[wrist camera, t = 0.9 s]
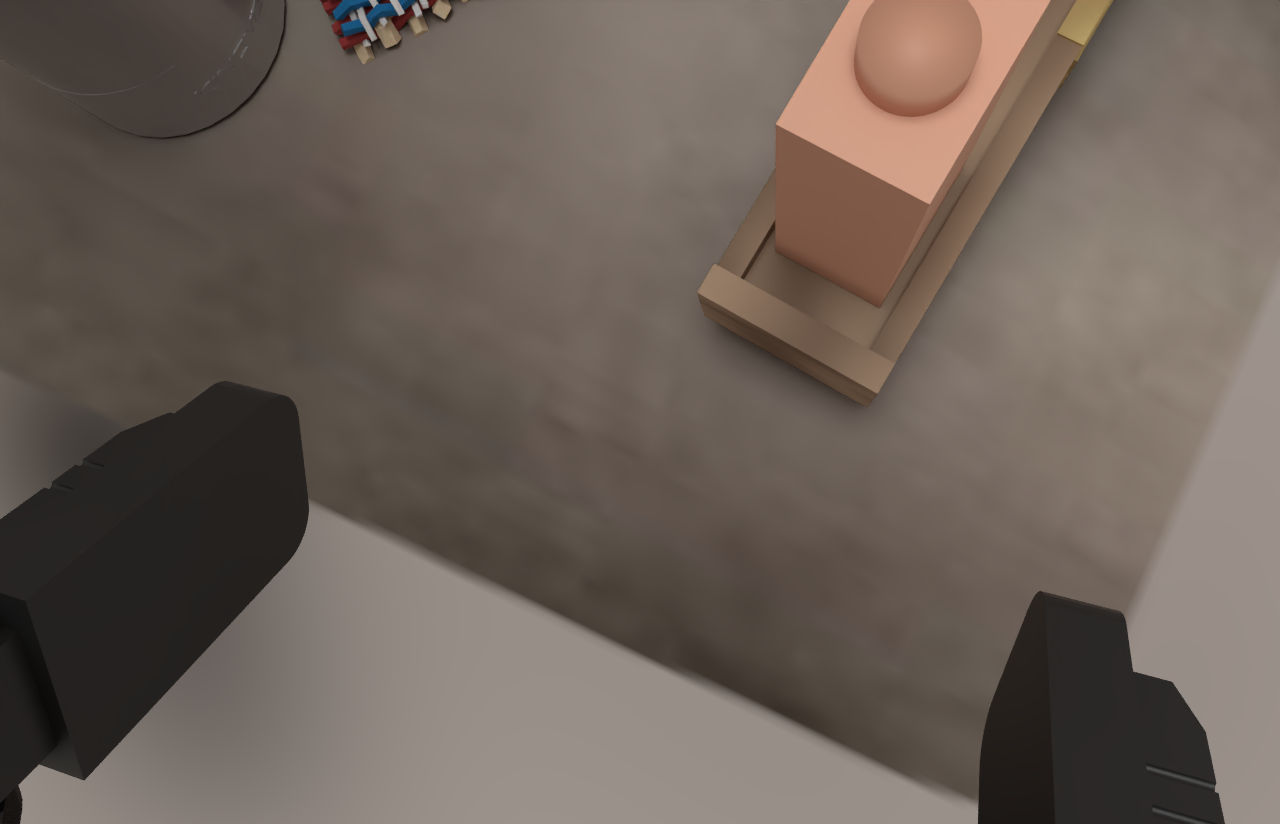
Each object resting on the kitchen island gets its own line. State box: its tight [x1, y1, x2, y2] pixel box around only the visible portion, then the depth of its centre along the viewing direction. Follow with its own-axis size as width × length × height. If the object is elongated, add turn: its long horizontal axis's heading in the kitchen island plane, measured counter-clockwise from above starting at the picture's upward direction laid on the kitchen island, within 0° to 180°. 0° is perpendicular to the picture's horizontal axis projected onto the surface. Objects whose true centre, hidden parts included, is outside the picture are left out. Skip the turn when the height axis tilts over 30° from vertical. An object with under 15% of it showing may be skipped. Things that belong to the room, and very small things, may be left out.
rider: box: [775, 0, 1051, 308], centre depth 26 cm, size 4×5×11 cm
